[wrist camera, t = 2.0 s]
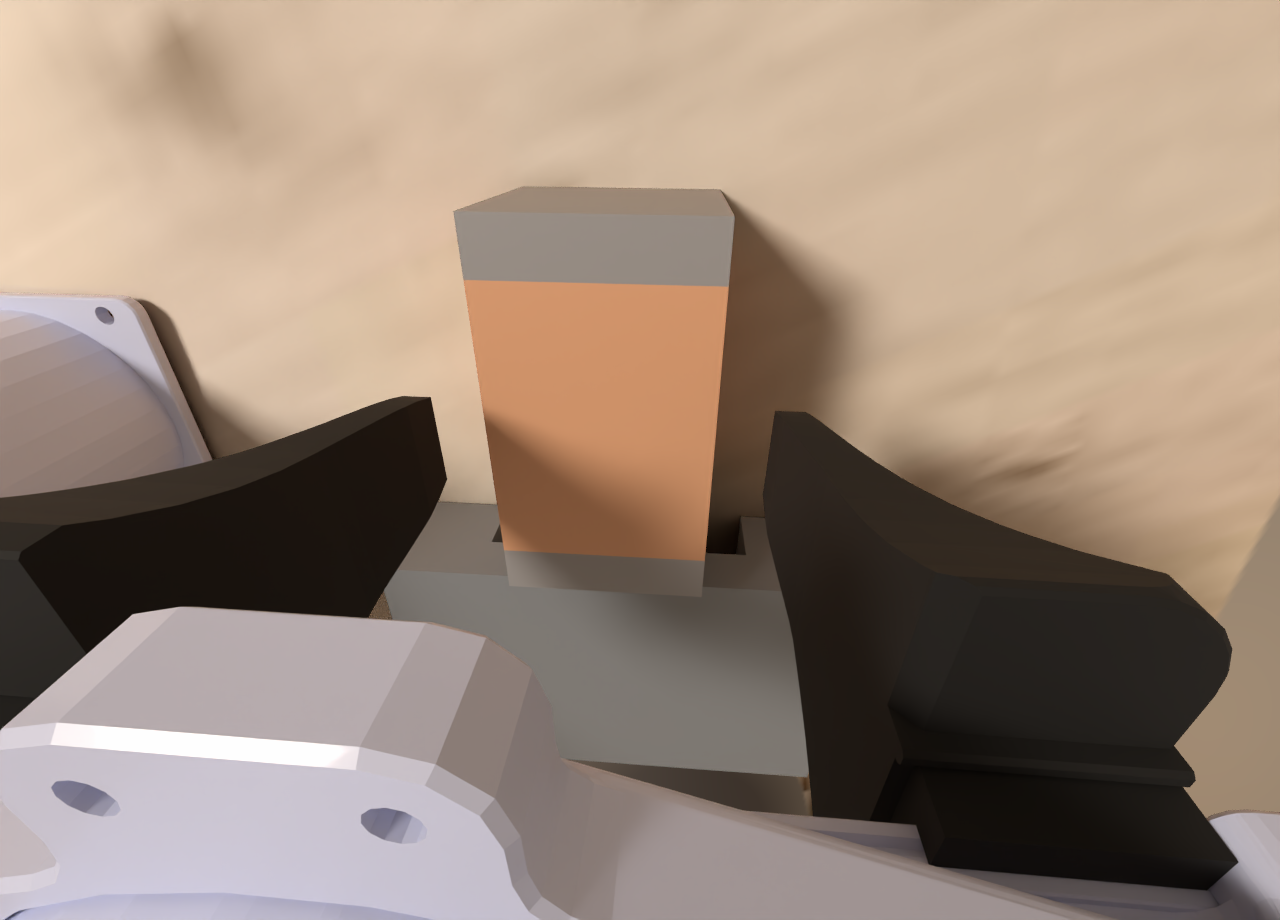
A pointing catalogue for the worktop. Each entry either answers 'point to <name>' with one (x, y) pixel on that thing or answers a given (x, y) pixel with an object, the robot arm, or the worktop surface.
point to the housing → (600, 378)
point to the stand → (628, 649)
